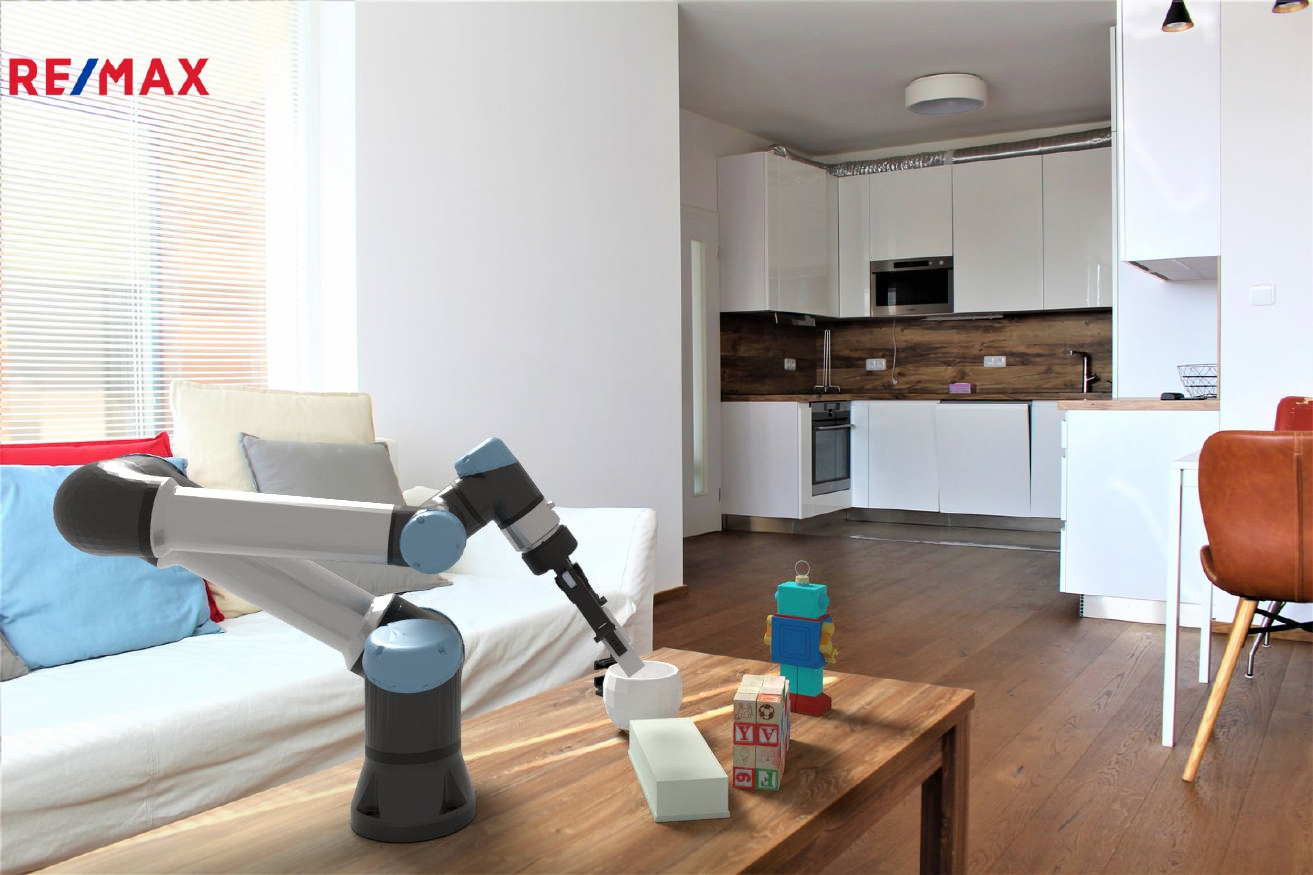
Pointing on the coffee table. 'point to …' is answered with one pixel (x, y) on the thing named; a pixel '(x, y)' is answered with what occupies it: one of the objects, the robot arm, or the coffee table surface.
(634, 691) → the cup
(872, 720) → the coffee table surface
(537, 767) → the coffee table surface
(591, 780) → the coffee table surface
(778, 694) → the stack of blocks
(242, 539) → the robot arm
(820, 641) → the toy robot
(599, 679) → the end cap
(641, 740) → the plinth
